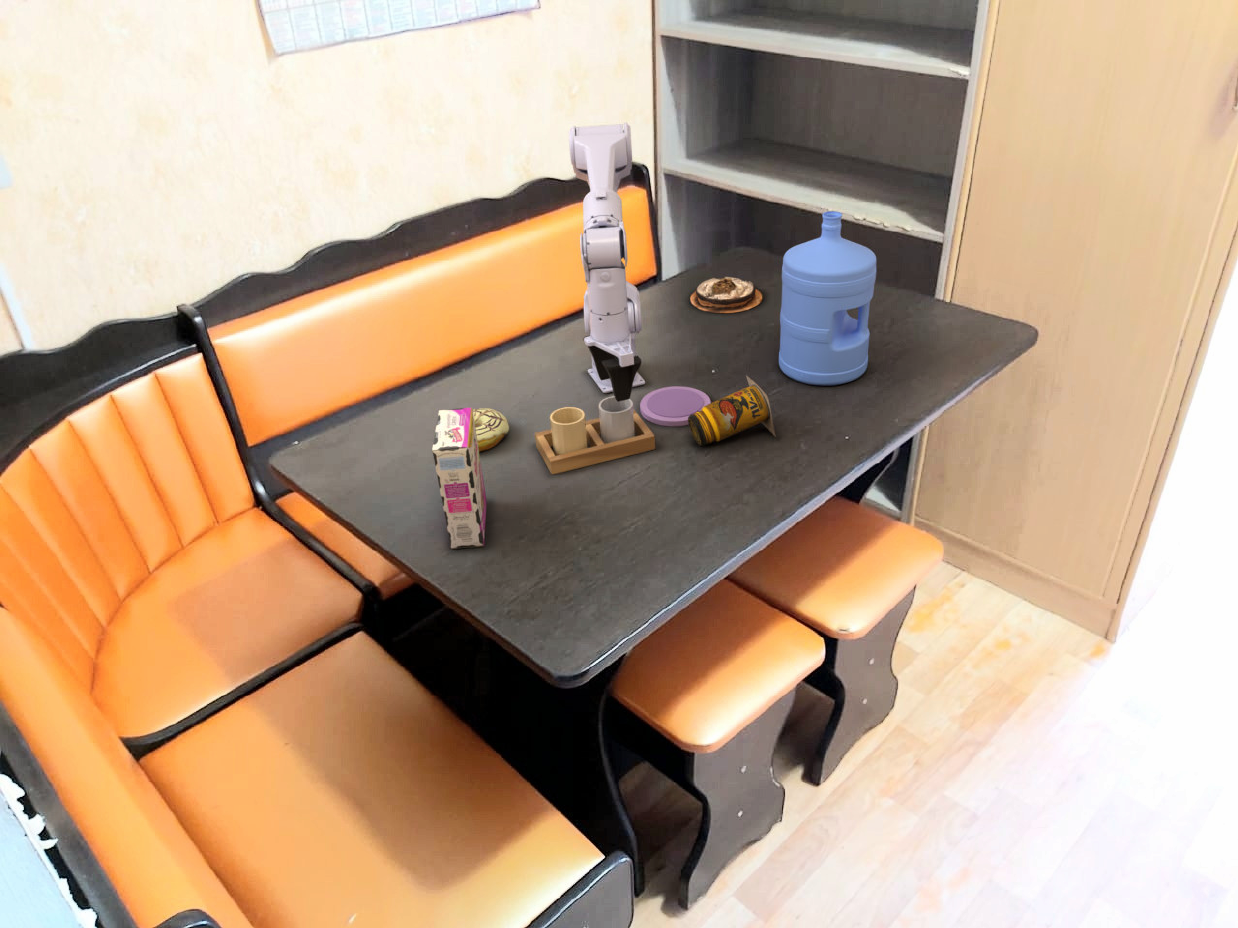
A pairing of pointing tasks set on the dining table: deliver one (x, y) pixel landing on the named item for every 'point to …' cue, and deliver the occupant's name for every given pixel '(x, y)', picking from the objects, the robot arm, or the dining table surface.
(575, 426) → the beige cup
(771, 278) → the dining table surface
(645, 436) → the cup rack
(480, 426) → the decorated donut
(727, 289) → the cake on plate
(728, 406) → the condiment
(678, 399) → the lavender plate
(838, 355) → the water jug
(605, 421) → the steel cup
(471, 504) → the candy bar box
